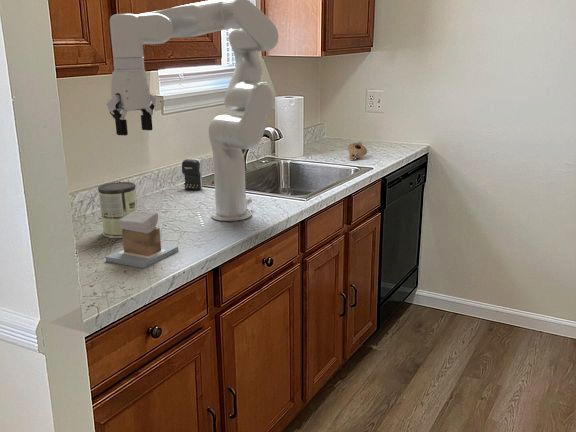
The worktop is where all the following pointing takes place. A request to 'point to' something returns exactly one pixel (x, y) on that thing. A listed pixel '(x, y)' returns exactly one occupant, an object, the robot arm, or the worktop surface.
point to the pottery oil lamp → (356, 150)
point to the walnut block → (141, 242)
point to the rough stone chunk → (139, 221)
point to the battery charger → (192, 174)
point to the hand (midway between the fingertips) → (135, 132)
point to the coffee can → (116, 206)
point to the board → (141, 257)
